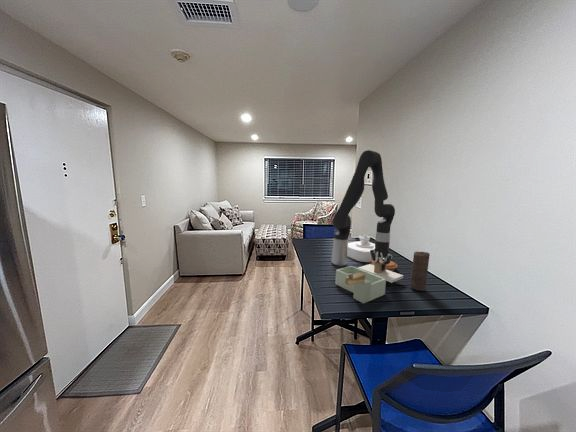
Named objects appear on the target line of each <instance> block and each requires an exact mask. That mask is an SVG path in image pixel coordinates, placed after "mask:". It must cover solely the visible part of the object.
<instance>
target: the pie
mask: <svg viewBox="0 0 576 432" xmlns="http://www.w3.org/2000/svg"><path fill="white" fill-rule="evenodd" d="M380 261H382V260H381V259H380V260H379V262H380ZM371 264H372V265H375V261H374V260H373V261H372V262H371ZM397 268H398V264H397V263H396V262H394V261H392V260H391V261H390V263H389V264H387V265H386V270H389V271H392V272H395V270H396V269H397Z"/></svg>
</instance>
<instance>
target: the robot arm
mask: <svg viewBox="0 0 576 432" xmlns="http://www.w3.org/2000/svg"><path fill="white" fill-rule="evenodd" d="M369 168H370V169H371V172H372V175H373V176H372V184H371V185H372V186H371V188H372V194H373V196H374V197H373V198H374V213H375V215H376V216H377V217H379V218H382V219H381V220H379V221H377V223H376V232H375V237H374V238H375V240H374V244H375V249H374V250H370V253H371V256H372V260H374V261H375V263H377V262H379V260H380V258H381V260H382V268H381V270H382V271H384V270H385V269H386V264H389V263H390V261H392V260H393V257H394V254H390V251H389V249H390V243H391V225H392V222H393V220H394V217H395V214H396V209H395V206H394V205H393V204H392V203H384V201H386V200H387V199H388V198H389V195H388V191H387V187H386V183H385V179H384V171H383V161H382V156H381V153H379V152H378V151H373V150H372V149H371V150H370V149H365V150H364V151H363V152H362V153H361V154H360V156H359V158H358V162H357V165H356V168H355V172H354V173H353V175H352V178H351V181H350V183H349V185H348V187H347V189H346V191H345V193H344V196H343V199H342V200H341V203H340V206H339V208H338V209H337V211H336V213H335V214H334V216H333V219H332V226H333V227H334V228H335V229H336V231H335V232H334V234H333V246H332V247H333V248H331V261H330V262H331V263H332V265H335V266H340V267H341V266H342V267H343V266H347V264H348V263H347V262H348V256H347V251H348V243H349V236H350V234H351V227H352V226H351V225H352V220H351V216H350V215H349V214H350V213H351V211H352V210H353V208H354V207H355V206H356V205H357V204H358V202H359V201H360V199H361V197H362V195H363V193H364V190H365V178H366V177H365V176H366V173H367V171H368V169H369ZM375 253H376V254H375Z"/></svg>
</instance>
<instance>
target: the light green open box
mask: <svg viewBox="0 0 576 432" xmlns="http://www.w3.org/2000/svg"><path fill="white" fill-rule="evenodd" d="M349 273H351V274H353V275H354V274H357V273H363V274H365V281H363V282H360V283H357V284H354V285H352V286H350V285H348V284H345V280H346V277H347V276H348V274H349ZM334 284H335V285H336V286H338V287H340V288H343V289H345V290H346V291H349V292H350V293H353V296H352V298H353V299H354V300H356V301H357V302H360V303H361V304H363V305H364V304H366V303H368V302H370V301H373V300H375V299H378V298H380V297H382V296H384V295H386V284H387V281H386V279H384V278H382V277H379V276H377V275H374V274H371V273H369V272H366V271H364V270H361V269H359V268H358V267H356V266H353V265H349V266H345V267H341V268H337V269H335V283H334Z"/></svg>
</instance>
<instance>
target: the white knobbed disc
mask: <svg viewBox="0 0 576 432" xmlns="http://www.w3.org/2000/svg"><path fill="white" fill-rule="evenodd" d="M358 239H359V241H353V242H348V251H347V258H350V259H353V260H355V261H357V262H364V263H372V261H373V260H372V256H371V253H370V250H374V249H375V242H374V243H373V242H370V239H371V238H370V236H369V235H367V234H363V236H362V235H359V236H358ZM375 254H376V253H375ZM380 259H381V258H380Z"/></svg>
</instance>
